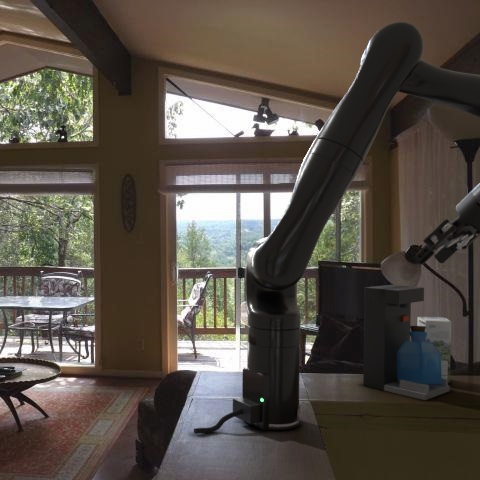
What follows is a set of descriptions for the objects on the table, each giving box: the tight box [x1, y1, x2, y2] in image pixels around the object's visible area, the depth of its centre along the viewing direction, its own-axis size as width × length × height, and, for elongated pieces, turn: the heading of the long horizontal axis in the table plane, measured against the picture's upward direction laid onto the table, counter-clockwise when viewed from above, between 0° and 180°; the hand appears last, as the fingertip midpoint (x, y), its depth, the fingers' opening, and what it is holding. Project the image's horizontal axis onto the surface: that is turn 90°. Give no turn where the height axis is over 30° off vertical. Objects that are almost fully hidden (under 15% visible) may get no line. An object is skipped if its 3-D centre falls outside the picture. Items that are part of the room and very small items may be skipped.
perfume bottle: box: [397, 325, 442, 384], centre depth 125 cm, size 6×6×12 cm
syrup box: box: [416, 316, 453, 384], centre depth 134 cm, size 6×6×14 cm
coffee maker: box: [362, 284, 451, 401], centre depth 126 cm, size 11×14×22 cm
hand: (427, 260), depth 116 cm, fingers open, 8 cm apart
